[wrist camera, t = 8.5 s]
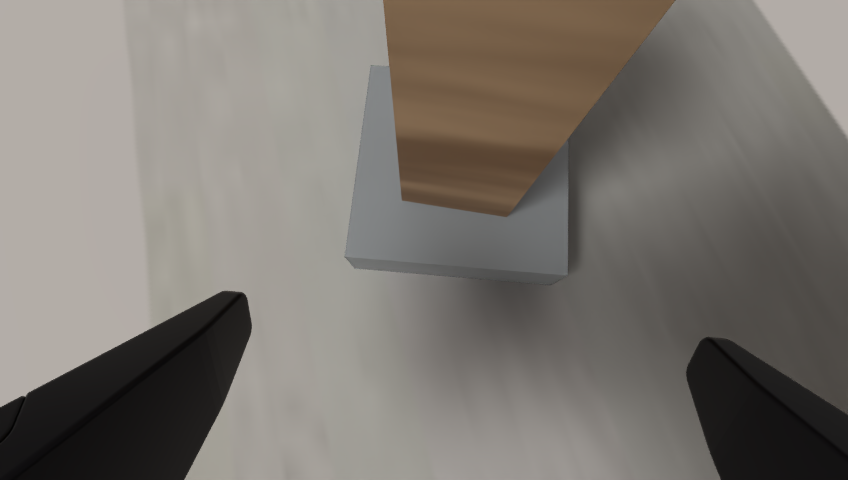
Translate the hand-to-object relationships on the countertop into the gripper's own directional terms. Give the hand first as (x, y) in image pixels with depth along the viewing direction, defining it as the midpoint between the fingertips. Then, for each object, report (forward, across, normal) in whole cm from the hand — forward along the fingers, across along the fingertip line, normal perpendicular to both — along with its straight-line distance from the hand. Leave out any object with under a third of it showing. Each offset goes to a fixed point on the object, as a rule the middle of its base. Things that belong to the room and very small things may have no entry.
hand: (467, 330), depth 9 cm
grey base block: (+13, 0, +3) cm, 14 cm away
